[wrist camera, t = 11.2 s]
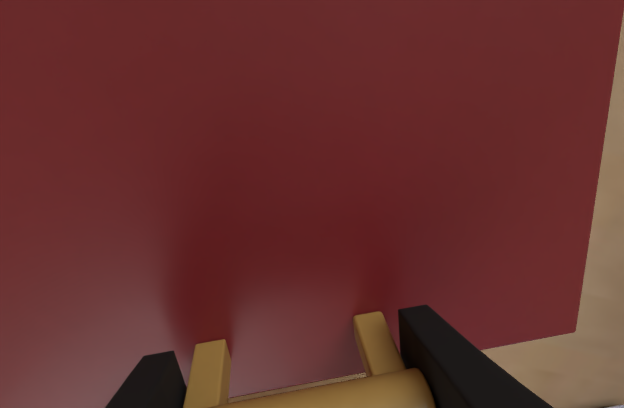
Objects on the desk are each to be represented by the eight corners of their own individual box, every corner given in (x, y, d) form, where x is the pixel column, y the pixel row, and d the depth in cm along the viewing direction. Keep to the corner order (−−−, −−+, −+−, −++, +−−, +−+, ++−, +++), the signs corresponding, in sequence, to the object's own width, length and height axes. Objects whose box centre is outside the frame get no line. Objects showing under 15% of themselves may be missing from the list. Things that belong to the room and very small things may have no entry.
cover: (563, 320, 11) (695, 448, 8) (14, 424, 10) (-103, 614, 7) (621, -113, 7) (923, -227, 4) (-234, -1, 7) (-741, -26, 3)
